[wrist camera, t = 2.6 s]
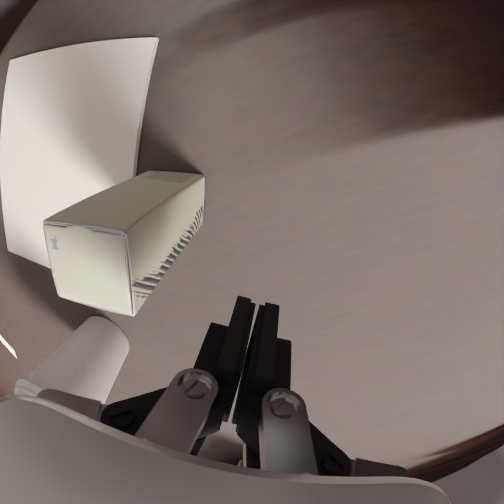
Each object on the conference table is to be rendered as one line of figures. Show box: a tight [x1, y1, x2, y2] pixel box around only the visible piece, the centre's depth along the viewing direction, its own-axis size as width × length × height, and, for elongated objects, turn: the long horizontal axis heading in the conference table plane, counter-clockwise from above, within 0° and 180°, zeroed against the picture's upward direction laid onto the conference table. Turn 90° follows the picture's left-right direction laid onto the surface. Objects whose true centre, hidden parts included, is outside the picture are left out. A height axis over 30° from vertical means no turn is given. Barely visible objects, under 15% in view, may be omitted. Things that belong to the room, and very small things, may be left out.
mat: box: [0, 37, 159, 269], centre depth 23 cm, size 24×20×1 cm
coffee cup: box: [14, 316, 129, 404], centre depth 25 cm, size 10×10×15 cm
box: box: [43, 171, 205, 316], centre depth 17 cm, size 5×4×13 cm
